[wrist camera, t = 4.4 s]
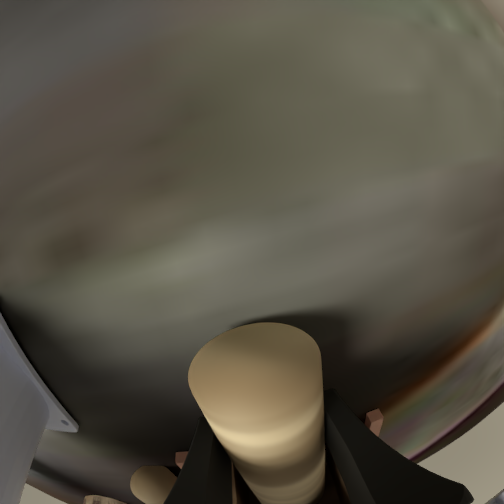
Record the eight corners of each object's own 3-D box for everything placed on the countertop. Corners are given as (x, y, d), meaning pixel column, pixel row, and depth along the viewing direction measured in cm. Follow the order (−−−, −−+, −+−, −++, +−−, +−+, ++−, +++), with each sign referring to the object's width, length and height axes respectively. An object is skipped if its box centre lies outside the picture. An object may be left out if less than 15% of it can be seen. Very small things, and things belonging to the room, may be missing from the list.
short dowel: (134, 462, 14) (127, 499, 11) (176, 464, 14) (172, 504, 11) (177, 498, 17) (175, 527, 14) (212, 499, 17) (212, 529, 14)
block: (204, 455, 14) (207, 541, 8) (354, 423, 14) (388, 503, 8) (229, 487, 16) (235, 552, 10) (348, 461, 16) (371, 523, 11)
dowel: (191, 336, 10) (185, 427, 6) (301, 311, 10) (340, 394, 6) (252, 467, 14) (261, 520, 11) (315, 454, 14) (332, 505, 11)
